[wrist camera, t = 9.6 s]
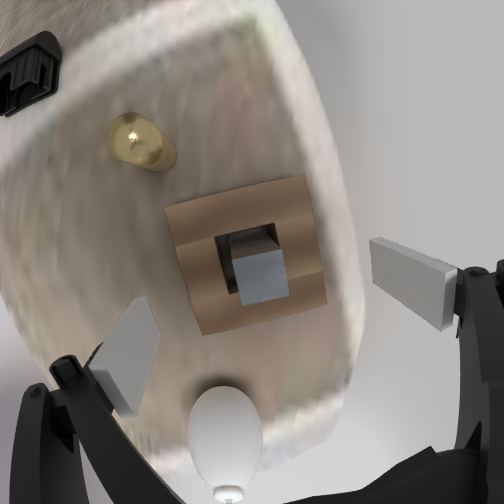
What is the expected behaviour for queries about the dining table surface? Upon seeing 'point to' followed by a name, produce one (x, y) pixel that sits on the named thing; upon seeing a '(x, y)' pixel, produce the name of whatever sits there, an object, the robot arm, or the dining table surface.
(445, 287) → the robot arm
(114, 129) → the round bit
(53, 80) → the end cap
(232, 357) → the dining table surface
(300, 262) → the socket board
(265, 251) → the square bit
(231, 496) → the white air blower
